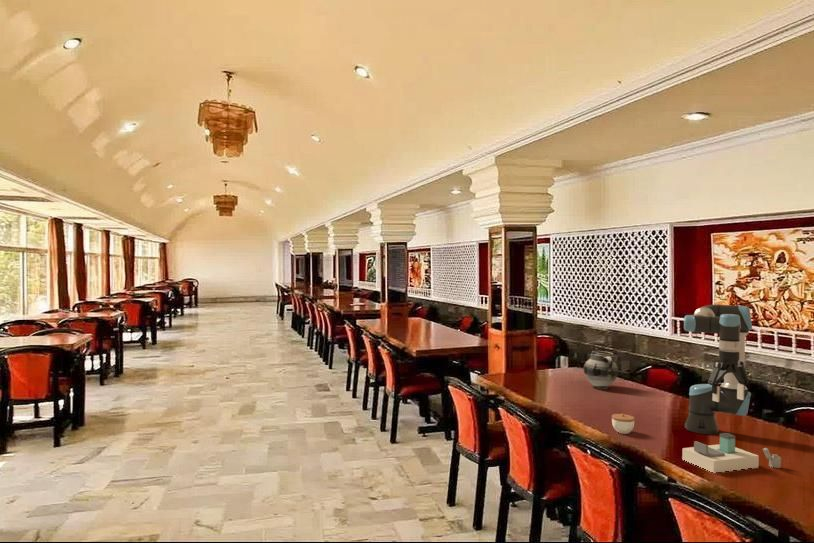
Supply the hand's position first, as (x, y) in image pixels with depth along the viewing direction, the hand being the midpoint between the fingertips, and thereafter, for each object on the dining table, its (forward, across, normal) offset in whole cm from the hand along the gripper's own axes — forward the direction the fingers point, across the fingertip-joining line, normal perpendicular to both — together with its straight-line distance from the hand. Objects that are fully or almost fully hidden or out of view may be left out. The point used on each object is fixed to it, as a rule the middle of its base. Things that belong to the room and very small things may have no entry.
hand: (728, 400), depth 230 cm
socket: (+27, -4, 0) cm, 27 cm away
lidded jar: (+27, -14, +48) cm, 57 cm away
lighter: (+27, +14, -9) cm, 32 cm away
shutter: (+22, -10, 0) cm, 24 cm away
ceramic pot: (+27, +40, +136) cm, 144 cm away
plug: (+27, 0, 0) cm, 27 cm away
